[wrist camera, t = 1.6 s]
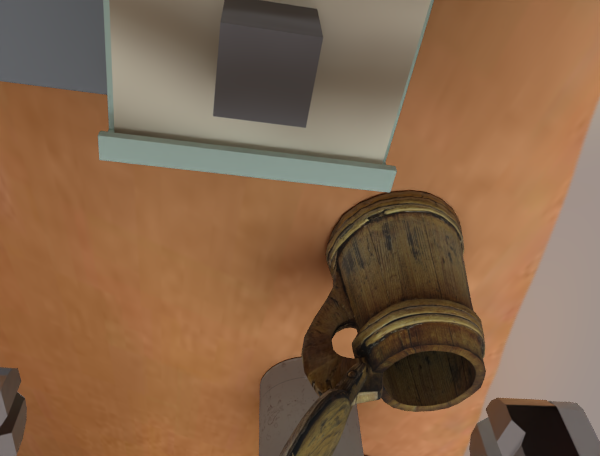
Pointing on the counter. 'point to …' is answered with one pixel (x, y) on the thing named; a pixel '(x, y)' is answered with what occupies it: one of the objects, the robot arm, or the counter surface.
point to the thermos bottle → (295, 410)
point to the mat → (53, 44)
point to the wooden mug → (391, 318)
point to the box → (241, 150)
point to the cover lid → (265, 72)
